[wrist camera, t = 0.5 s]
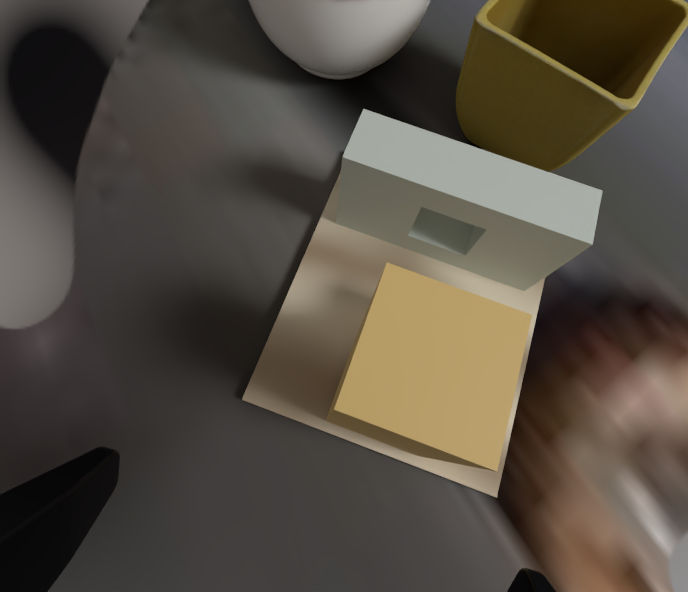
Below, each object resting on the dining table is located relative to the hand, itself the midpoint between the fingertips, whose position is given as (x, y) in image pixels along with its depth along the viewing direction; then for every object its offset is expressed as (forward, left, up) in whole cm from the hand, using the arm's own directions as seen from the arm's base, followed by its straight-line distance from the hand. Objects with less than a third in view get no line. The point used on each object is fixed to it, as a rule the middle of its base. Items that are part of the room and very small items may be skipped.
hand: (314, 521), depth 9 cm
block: (+3, -6, -13) cm, 14 cm away
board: (+6, -9, -13) cm, 17 cm away
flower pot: (+14, -21, -14) cm, 29 cm away
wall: (+9, -12, -13) cm, 20 cm away
